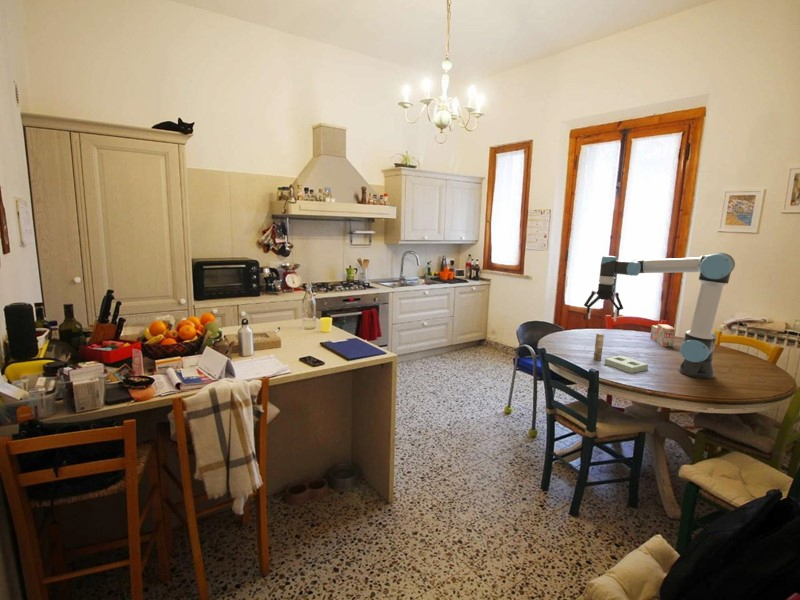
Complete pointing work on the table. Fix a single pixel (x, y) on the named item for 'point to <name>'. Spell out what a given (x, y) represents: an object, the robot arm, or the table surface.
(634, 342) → the table surface
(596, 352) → the peg
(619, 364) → the board
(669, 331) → the stack of blocks
